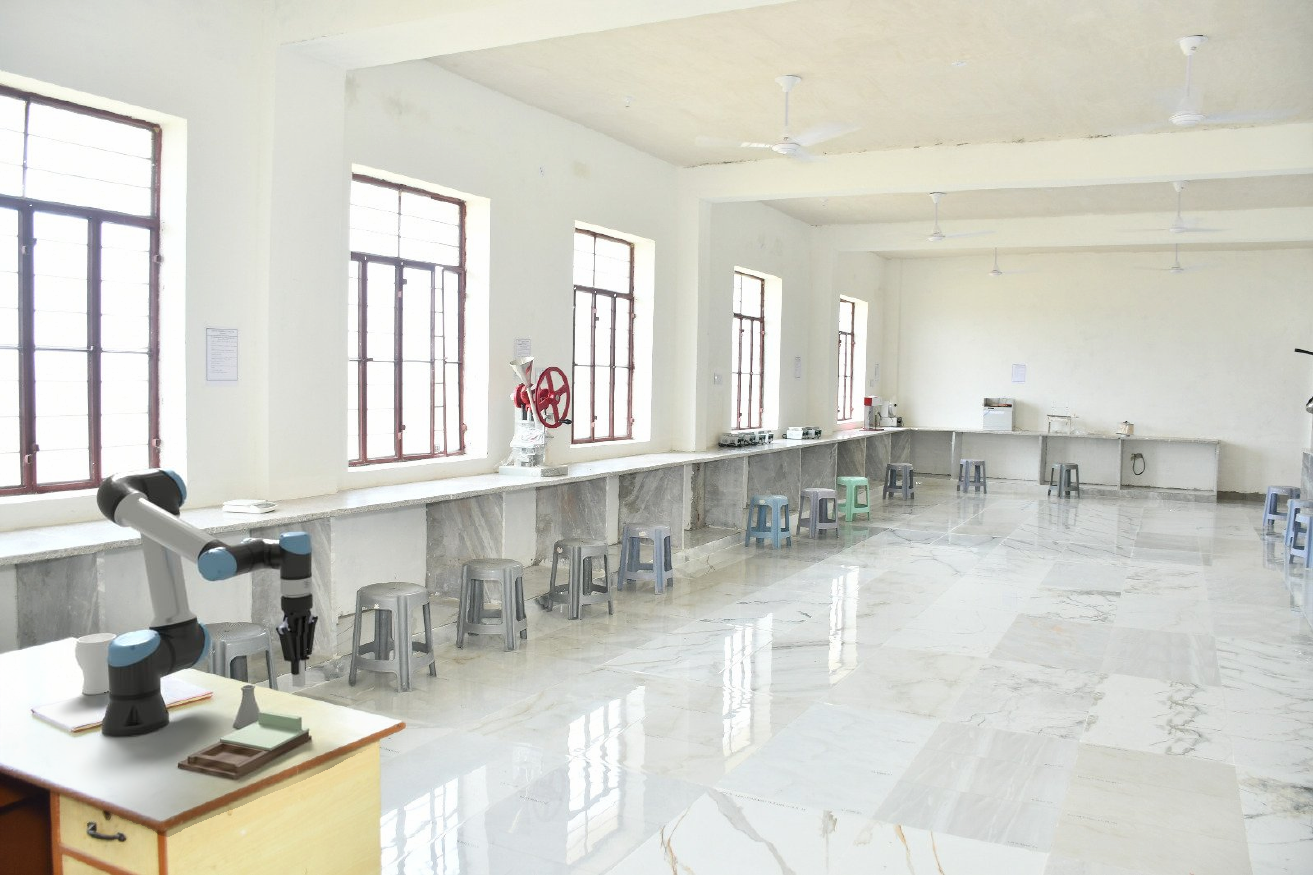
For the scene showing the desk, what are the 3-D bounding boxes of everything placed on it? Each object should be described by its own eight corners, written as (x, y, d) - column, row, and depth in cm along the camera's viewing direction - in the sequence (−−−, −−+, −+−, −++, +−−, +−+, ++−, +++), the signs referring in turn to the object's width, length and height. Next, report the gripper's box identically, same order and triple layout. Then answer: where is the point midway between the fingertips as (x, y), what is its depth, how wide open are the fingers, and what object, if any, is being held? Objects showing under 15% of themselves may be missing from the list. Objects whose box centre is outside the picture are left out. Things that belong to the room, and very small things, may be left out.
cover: (220, 741, 234) (219, 726, 234) (260, 721, 247) (260, 708, 246) (270, 750, 229) (270, 735, 229) (309, 730, 242) (309, 716, 241)
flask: (252, 731, 248) (252, 692, 247) (227, 728, 249) (226, 690, 248) (269, 720, 255) (269, 683, 254) (244, 718, 256) (244, 681, 255)
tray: (177, 767, 225) (177, 756, 225) (256, 729, 248) (256, 720, 248) (236, 779, 219) (235, 768, 219) (311, 739, 242) (311, 729, 242)
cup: (127, 688, 277) (126, 636, 276) (89, 699, 268) (87, 645, 267) (107, 681, 282) (105, 630, 281) (68, 691, 274) (67, 639, 272)
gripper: (290, 601, 239) (293, 695, 240) (326, 589, 251) (328, 679, 253) (266, 598, 241) (268, 692, 243) (302, 587, 253) (304, 676, 255)
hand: (298, 685), depth 248 cm, fingers closed
